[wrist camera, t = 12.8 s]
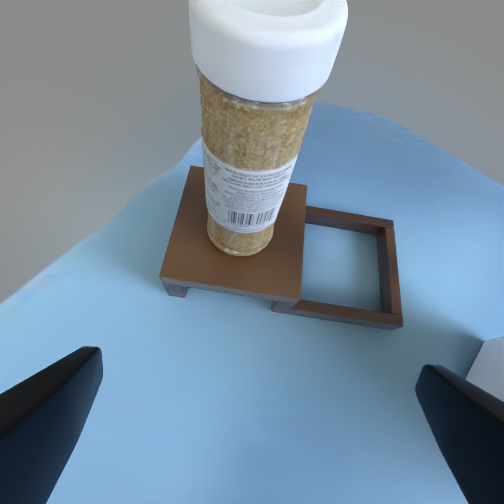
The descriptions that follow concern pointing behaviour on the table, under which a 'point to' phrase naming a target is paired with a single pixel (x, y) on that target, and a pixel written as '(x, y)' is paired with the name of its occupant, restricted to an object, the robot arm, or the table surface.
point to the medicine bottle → (489, 368)
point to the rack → (274, 258)
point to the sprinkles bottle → (257, 104)
